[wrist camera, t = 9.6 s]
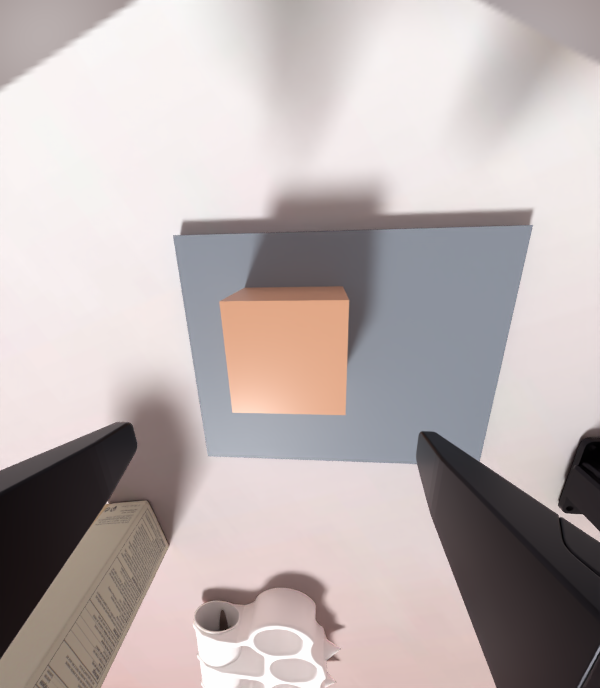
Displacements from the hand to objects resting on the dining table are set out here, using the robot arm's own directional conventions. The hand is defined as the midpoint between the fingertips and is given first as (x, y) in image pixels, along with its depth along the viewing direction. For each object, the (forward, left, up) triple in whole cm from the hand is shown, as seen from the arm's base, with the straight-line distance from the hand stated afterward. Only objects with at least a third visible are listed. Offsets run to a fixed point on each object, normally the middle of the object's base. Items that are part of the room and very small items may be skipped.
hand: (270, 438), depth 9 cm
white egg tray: (+4, +35, -12) cm, 37 cm away
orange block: (0, 0, -10) cm, 10 cm away
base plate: (-3, +2, -11) cm, 11 cm away
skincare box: (+15, +19, -11) cm, 27 cm away
